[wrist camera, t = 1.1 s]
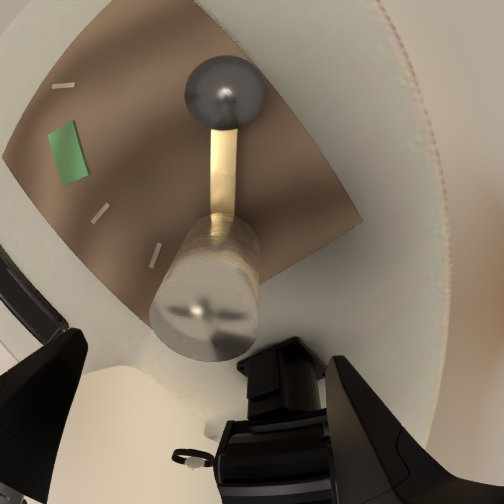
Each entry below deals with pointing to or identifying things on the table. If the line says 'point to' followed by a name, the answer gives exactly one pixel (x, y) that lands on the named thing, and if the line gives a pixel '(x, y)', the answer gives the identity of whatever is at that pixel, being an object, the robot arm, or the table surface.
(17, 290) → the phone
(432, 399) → the table surface
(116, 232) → the wooden serving board
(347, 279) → the table surface
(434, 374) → the table surface
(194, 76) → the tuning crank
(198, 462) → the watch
